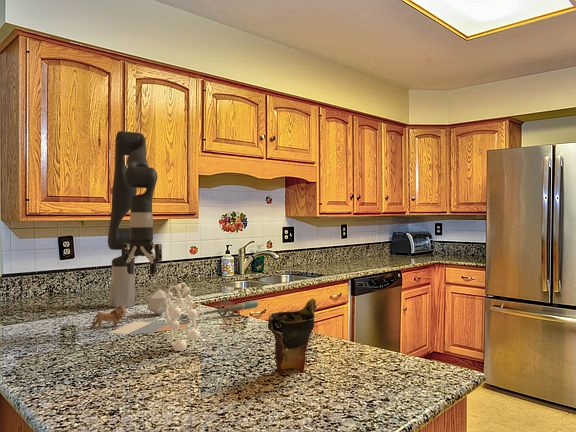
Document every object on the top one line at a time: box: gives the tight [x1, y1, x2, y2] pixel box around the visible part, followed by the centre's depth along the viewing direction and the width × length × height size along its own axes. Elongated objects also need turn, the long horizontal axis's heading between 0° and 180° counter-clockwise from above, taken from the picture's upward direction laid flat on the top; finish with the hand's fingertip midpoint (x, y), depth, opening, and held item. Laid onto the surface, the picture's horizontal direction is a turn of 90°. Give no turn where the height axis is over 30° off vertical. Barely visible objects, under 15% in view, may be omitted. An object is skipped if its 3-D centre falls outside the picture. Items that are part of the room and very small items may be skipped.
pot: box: [267, 298, 317, 376], centre depth 113 cm, size 17×11×18 cm, turn 141°
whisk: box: [179, 299, 259, 323], centre depth 176 cm, size 11×32×7 cm, turn 123°
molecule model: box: [164, 282, 205, 352], centre depth 133 cm, size 19×14×4 cm
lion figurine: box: [89, 306, 127, 330], centre depth 160 cm, size 12×4×7 cm, turn 120°
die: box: [147, 289, 172, 316], centre depth 180 cm, size 8×9×10 cm
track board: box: [89, 320, 189, 335], centre depth 159 cm, size 28×16×1 cm, turn 78°
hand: (141, 274), depth 158 cm, fingers open, 7 cm apart
